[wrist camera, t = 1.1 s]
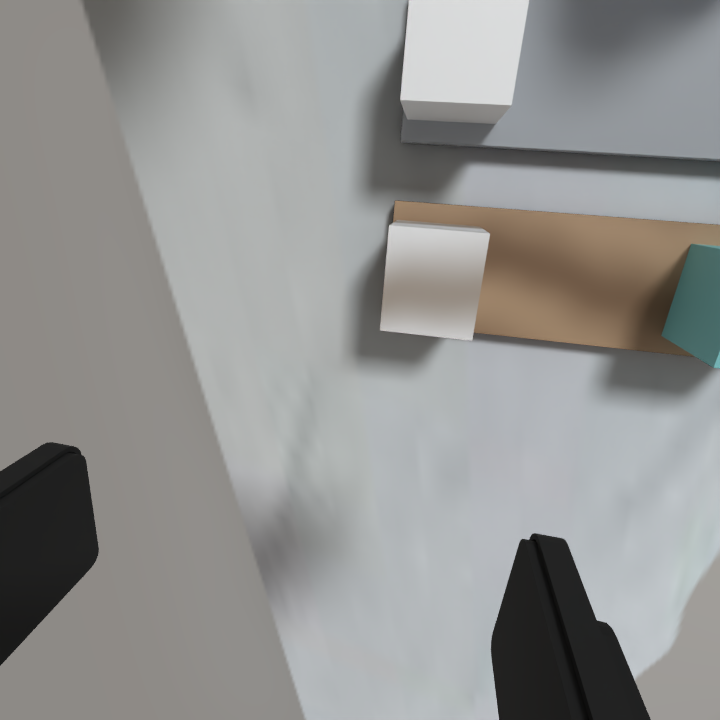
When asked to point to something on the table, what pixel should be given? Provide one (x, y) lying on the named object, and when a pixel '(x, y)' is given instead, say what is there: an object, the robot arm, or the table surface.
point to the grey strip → (565, 76)
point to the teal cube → (697, 306)
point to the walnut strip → (535, 275)
